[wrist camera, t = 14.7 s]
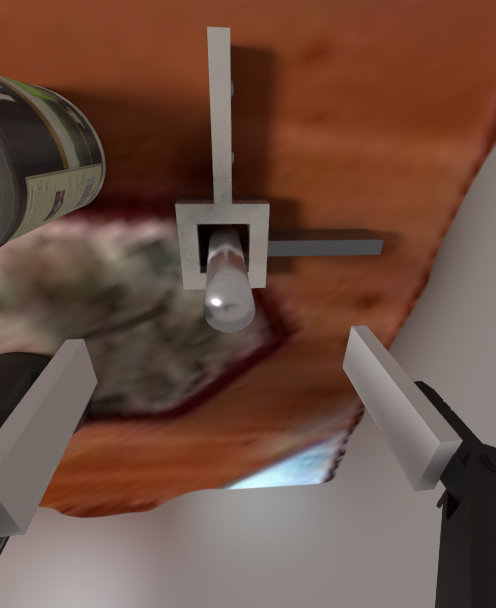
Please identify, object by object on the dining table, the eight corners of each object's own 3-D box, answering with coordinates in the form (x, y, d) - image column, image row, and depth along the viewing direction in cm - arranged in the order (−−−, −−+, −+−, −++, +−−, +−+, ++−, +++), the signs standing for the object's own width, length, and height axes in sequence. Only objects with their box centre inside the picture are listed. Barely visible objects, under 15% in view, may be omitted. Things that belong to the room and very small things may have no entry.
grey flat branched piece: (357, 270, 35) (372, 284, 32) (187, 274, 34) (184, 289, 30) (404, 53, 25) (434, 38, 22) (165, 41, 23) (156, 24, 20)
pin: (238, 251, 33) (254, 331, 19) (210, 251, 32) (205, 333, 19) (238, 222, 31) (255, 287, 17) (208, 222, 31) (202, 288, 17)
